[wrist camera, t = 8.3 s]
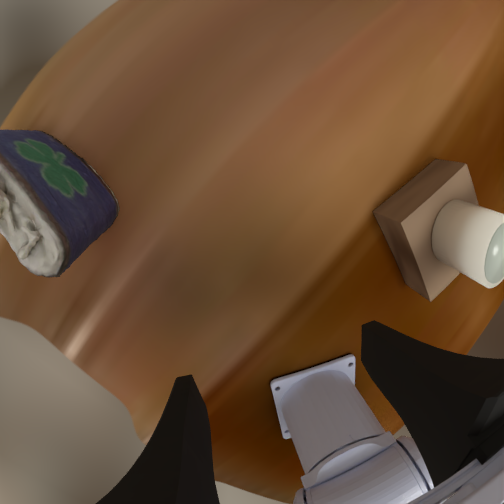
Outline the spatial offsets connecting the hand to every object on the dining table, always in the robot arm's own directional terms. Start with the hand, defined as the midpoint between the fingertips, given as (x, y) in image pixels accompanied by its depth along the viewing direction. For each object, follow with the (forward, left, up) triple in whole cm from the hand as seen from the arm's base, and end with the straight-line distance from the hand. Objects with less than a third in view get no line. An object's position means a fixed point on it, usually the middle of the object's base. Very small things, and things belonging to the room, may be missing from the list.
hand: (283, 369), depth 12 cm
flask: (+10, +10, -11) cm, 18 cm away
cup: (0, -16, -7) cm, 17 cm away
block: (0, -16, -11) cm, 19 cm away
